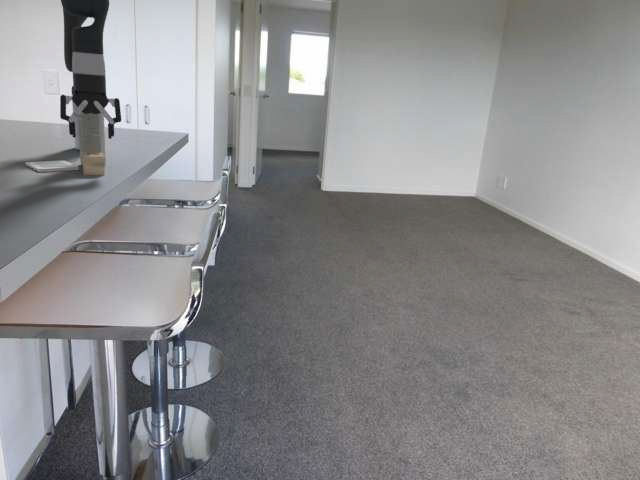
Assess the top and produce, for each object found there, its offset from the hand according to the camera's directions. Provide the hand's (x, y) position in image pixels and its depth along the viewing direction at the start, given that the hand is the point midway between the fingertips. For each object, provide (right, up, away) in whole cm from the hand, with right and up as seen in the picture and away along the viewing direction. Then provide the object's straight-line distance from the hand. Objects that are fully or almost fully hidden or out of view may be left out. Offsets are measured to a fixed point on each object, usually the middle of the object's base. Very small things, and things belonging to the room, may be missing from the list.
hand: (92, 137), depth 131 cm
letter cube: (-1, -9, +3) cm, 10 cm away
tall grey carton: (-5, -6, +12) cm, 15 cm away
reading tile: (-13, -7, +5) cm, 15 cm away
